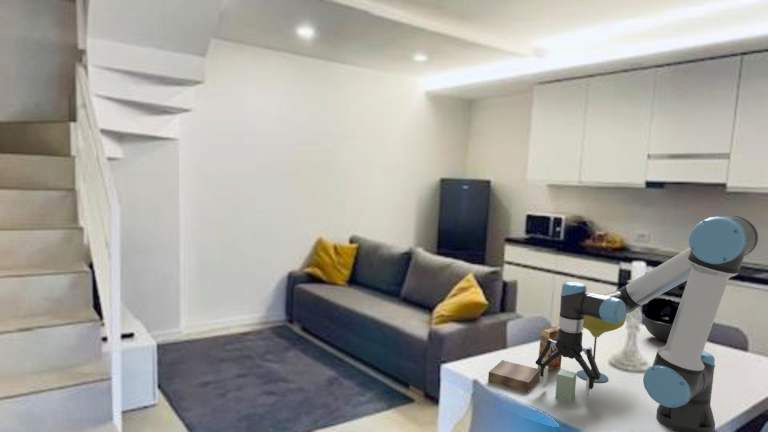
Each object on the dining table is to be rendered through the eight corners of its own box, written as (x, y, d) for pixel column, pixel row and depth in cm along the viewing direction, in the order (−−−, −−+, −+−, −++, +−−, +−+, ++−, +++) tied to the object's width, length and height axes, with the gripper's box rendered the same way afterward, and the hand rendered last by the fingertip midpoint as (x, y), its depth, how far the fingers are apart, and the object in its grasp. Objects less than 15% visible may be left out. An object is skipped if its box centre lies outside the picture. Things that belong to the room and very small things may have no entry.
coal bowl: (652, 330, 244) (655, 292, 242) (697, 342, 229) (702, 302, 227) (633, 338, 231) (637, 298, 229) (680, 351, 216) (685, 308, 214)
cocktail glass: (629, 387, 176) (635, 318, 173) (579, 386, 175) (585, 316, 172) (604, 367, 194) (609, 304, 191) (558, 366, 193) (563, 302, 190)
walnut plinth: (539, 380, 180) (540, 369, 180) (527, 393, 168) (528, 382, 168) (501, 370, 187) (502, 360, 187) (488, 382, 176) (488, 371, 175)
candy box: (546, 372, 186) (549, 332, 185) (537, 368, 190) (540, 328, 188) (561, 367, 191) (564, 328, 190) (552, 363, 195) (555, 325, 193)
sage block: (574, 396, 167) (576, 373, 166) (571, 401, 163) (573, 377, 162) (559, 392, 170) (561, 369, 169) (555, 397, 166) (557, 373, 165)
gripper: (613, 334, 161) (607, 398, 162) (535, 319, 174) (531, 378, 176) (609, 341, 154) (603, 407, 156) (529, 324, 168) (524, 385, 170)
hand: (565, 391), depth 166 cm, fingers open, 13 cm apart
